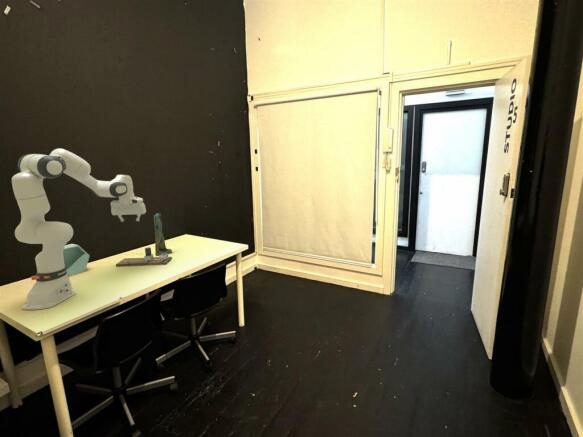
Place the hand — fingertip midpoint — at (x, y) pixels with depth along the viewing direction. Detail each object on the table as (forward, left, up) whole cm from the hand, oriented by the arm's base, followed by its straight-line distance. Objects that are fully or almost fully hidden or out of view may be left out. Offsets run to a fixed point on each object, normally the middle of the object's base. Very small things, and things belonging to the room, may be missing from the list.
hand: (130, 221), depth 195 cm
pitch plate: (+4, -4, -30) cm, 30 cm away
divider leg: (+3, -7, -27) cm, 29 cm away
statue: (+23, -10, -30) cm, 39 cm away
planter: (-11, +34, -30) cm, 46 cm away
